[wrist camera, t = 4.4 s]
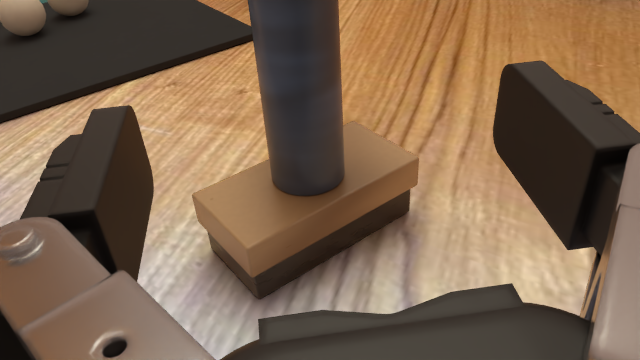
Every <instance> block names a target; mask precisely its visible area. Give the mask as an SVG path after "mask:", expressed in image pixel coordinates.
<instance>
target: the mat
mask: <svg viewBox="0 0 640 360" xmlns="http://www.w3.org/2000/svg"><path fill="white" fill-rule="evenodd" d="M42 5H43V7H44V9H45V12H46V21H45V24H44V26H43V28H42V29H41V30H40V31H39V32H37V33H36V34H33V35H30V36H20V35H16V34H14V33H12V32H10V31H9V30H7V29H6V28H5V27H4V26H3V25H2V23H1V22H0V122H4V121H7V120H10V119H13V118H16V117H19V116H22V115H25V114H28V113H31V112H34V111H37V110H40V109H43V108H46V107H49V106H52V105H55V104H59V103H62V102H65V101H68V100H71V99H74V98H77V97H80V96H83V95H86V94H89V93H92V92H95V91H98V90H101V89H104V88H107V87H110V86H114V85H117V84H120V83H123V82H126V81H129V80H132V79H135V78H138V77H141V76H144V75H147V74H150V73H153V72H156V71H159V70H162V69H165V68H168V67H172V66H175V65H178V64H181V63H184V62H187V61H190V60H193V59H196V58H199V57H202V56H205V55H208V54H211V53H214V52H217V51H220V50H223V49H227V48H230V47H233V46H236V45H239V44H242V43H245V42H248V41H251V40H253V35H252V27H251V26H249V25H247V24H244V23H242V22H240V21H238V20H236V19H234V18H232V17H230V16H228V15H226V14H224V13H222V12H219V11H217V10H215V9H213V8H211V7H209V6H207V5H205V4H203V3H201V2H199V1H197V0H89V3H88V5H87V7H86V9H85V10H84V11H83V12H82V13H80V14H78V15H75V16H65V15H62V14H60V13H58V12H56V11H55V10H54V9H53V8H52V7H51V6H50V5H49V3H48V2H45V3H42Z"/></svg>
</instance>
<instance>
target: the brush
mask: <svg viewBox="0 0 640 360" xmlns="http://www.w3.org/2000/svg"><path fill="white" fill-rule="evenodd" d="M248 5H249V12H250V20H251V27H252V35H253V42H254V50H255V57H256V64H257V72H258V79H259V87H260V94H261V102H262V109H263V117H264V124H265V131H266V139H267V146H268V154H269V159H268V160H266V161H264V162H261V163H259V164H257V165H255V166H253V167H250V168H248V169H246V170H244V171H242V172H239V173H237V174H235V175H233V176H231V177H228V178H226V179H224V180H222V181H220V182H217V183H215V184H213V185H211V186H209V187H206V188H204V189H202V190H200V191H198V192H195V193H193V194H192V198H193V202H194V206H195V210H196V214H197V218H198V222H199V223H200V224H201V225H202V226H203V227H204V228H205V229H206V230H207V231H208V235H209V239H210V244H211V248H212V249H213V251H214V252H215V253H216V254H217V255H218V256H219V257H220V258H221V259H222V260H223V261H224V262H225V263H226V265H227V266H228V267H229V268H230V269H231V270H232V271H233V272H234V273H235V274H236V275H237V276H238V278H239V279H240V280H241V281H242V282H243V283H244V284H245V285H246V286H247V287H248V288H249V289H250V291H251V292H252V293H253V294H254V295H255V296H256V297H257V298H258V299H261V298H263V297H265V296H266V295H268V294H270V293H271V292H273V291H275V290H277V289H278V288H280V287H282V286H283V285H285V284H287V283H288V282H290V281H292V280H293V279H295V278H297V277H299V276H300V275H302V274H304V273H305V272H307V271H309V270H310V269H312V268H314V267H315V266H317V265H319V264H320V263H322V262H324V261H326V260H327V259H329V258H331V257H332V256H334V255H336V254H337V253H339V252H341V251H342V250H344V249H346V248H348V247H349V246H351V245H353V244H354V243H356V242H358V241H359V240H361V239H363V238H364V237H366V236H368V235H370V234H371V233H373V232H375V231H376V230H378V229H380V228H381V227H383V226H385V225H386V224H388V223H390V222H391V221H393V220H395V219H397V218H398V217H400V216H402V215H403V214H405V213H407V212H408V211H409V204H410V189H411V188H412V187H414V186H416V185H417V183H418V166H419V157H418V156H416V155H414V154H412V153H411V152H409V151H407V150H405V149H403V148H402V147H400V146H398V145H396V144H395V143H393V142H391V141H389V140H387V139H386V138H384V137H382V136H380V135H379V134H377V133H375V132H373V131H371V130H370V129H368V128H366V127H364V126H362V125H361V124H359V123H357V122H355V121H352V122H350V123H347V124H345V125H343V111H342V85H341V59H340V32H339V6H338V0H248Z"/></svg>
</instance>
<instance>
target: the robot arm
mask: <svg viewBox="0 0 640 360" xmlns="http://www.w3.org/2000/svg"><path fill="white" fill-rule="evenodd" d="M602 102H603V101H601V100H600V99H599V98H598V97H597V96H596V95H594V94H593V93H592V92H591V91H590V90H588V89H586V88H584V87H582V86H580V85H577V84H575V83H573V82H571V81H568V80H564V79H563V78H562V77H561V76H560V75H559V74H558V73H556V72H555V71H554V70H553V69H552V68H551V67H550V66H548V65H547V64H546V63H545V62H544V61H533V62H524V63H515V64H508V65H506V66H505V67H504V69H503V71H502V74H501V79H500V86H499V92H498V99H497V106H496V112H495V119H494V126H493V138H494V144H495V148H496V150H497V153H498V154H499V156H500V157H501V159H502V160H503V161H504V163H505V164H506V165H507V167H508V168H509V170H510V171H511V172H512V174H513V175H514V176H515V178H516V179H517V181H518V182H519V183H520V185H521V186H522V188H523V189H524V190H525V192H526V193H527V194H528V196H529V197H530V199H531V200H532V201H533V203H534V204H535V205H536V207H537V208H538V210H539V211H540V212H541V214H542V215H543V217H544V218H545V219H546V221H547V222H548V223H549V225H550V226H551V228H552V229H553V230H554V232H555V233H556V234H557V236H558V237H559V239H560V240H561V241H562V243H563V244H564V246H565V247H566V248H567V250H573V249H580V248H588V247H594V248H595V249H596V251H597V252H596V255H595V258H594V261H593V264H592V268H591V272H590V276H589V280H588V284H587V288H586V292H585V296H584V300H583V304H582V308H581V312H580V316H578V315H575V314H572V313H569V312H566V311H564V310H561V309H557V308H553V307H549V306H545V305H539V304H533V303H523V302H522V300H521V298H520V297H519V295H518V293H517V291H516V290H515V288H514V286H513V284H505V285H497V286H490V287H483V288H476V289H469V290H462V291H455V292H450V293H447V294H445V295H442V296H439V297H437V298H434V299H431V300H429V301H426V302H424V303H421V304H418V305H416V306H413V307H410V308H408V309H405V310H402V311H400V312H397V313H393V314H374V313H359V312H343V311H328V310H320V311H313V312H305V313H298V314H291V315H284V316H277V317H270V318H263V319H258V322H259V339H258V340H256V341H253V342H251V343H248V344H246V345H244V346H242V347H240V348H238V349H236V350H234V351H233V352H231V353H230V354H228V355H226V356H225V357H223V358H222V359H220V360H640V133H639V132H638V131H637V130H635V129H634V128H633V127H632V126H631V125H630V124H628V123H627V122H626V121H625V120H624V119H623V118H621V117H620V116H619V115H618V114H614V111H613V110H612V109H611V108H610V107H608V106H607V105H606V104H603V103H602ZM153 192H154V186H153V176H152V170H151V166H150V163H149V159H148V156H147V152H146V149H145V145H144V142H143V139H142V135H141V132H140V128H139V125H138V121H137V118H136V115H135V112H134V110H133V108H132V107H131V106H130V105H128V106H119V107H110V108H101V109H93V110H92V112H91V114H90V116H89V119H88V121H87V123H86V126H85V128H84V130H83V133H82V134H78V135H70V136H69V137H68V138H67V139H66V140H65V141H63V142H62V143H61V144H60V145H59V146H58V147H56V148H55V149H54V150H53V152H52V154H51V156H50V158H49V160H48V162H47V165H46V169H44V171H43V173H42V175H41V177H40V182H38V183H37V185H36V187H35V189H34V191H33V193H32V195H31V197H30V199H29V202H28V204H27V206H26V208H25V210H24V212H23V214H22V216H21V218H20V220H17V221H14V222H11V223H9V224H7V225H4V226H2V227H0V360H215V359H214V358H213V357H212V356H211V355H210V354H209V353H208V352H207V351H206V350H205V349H204V348H203V347H202V346H201V345H200V344H199V343H198V342H197V341H196V340H195V339H194V338H193V337H192V336H191V335H190V334H189V333H188V332H187V331H186V330H185V329H184V328H183V327H182V326H181V325H180V324H179V323H178V322H177V321H176V320H175V319H174V318H173V317H172V316H171V315H170V314H168V313H167V312H166V311H165V310H164V309H163V308H162V307H161V306H160V305H159V304H158V303H157V302H156V301H155V300H154V299H153V298H152V297H151V296H150V295H149V294H148V293H147V292H146V291H145V290H144V289H143V288H142V287H141V286H140V285H139V284H138V283H137V279H138V273H139V268H140V263H141V257H142V252H143V247H144V242H145V236H146V231H147V226H148V221H149V215H150V210H151V205H152V199H153Z"/></svg>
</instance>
